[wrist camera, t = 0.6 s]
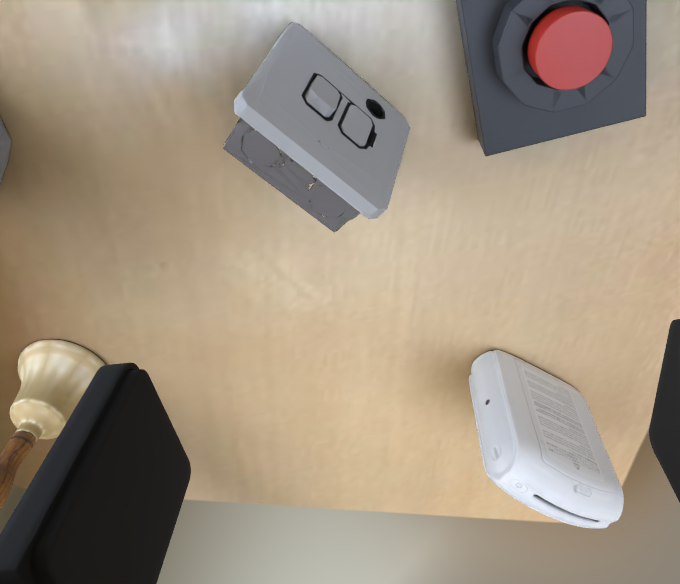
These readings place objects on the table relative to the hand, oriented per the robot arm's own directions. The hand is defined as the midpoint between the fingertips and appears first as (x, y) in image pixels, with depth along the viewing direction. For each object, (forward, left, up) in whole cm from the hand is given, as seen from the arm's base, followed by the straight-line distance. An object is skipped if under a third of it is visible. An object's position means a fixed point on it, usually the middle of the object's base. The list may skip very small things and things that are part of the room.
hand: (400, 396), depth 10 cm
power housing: (+1, +9, -28) cm, 29 cm away
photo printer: (+28, +5, -28) cm, 40 cm away
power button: (+1, +9, -24) cm, 26 cm away
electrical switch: (+2, -4, -28) cm, 29 cm away
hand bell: (+18, -33, -28) cm, 47 cm away
